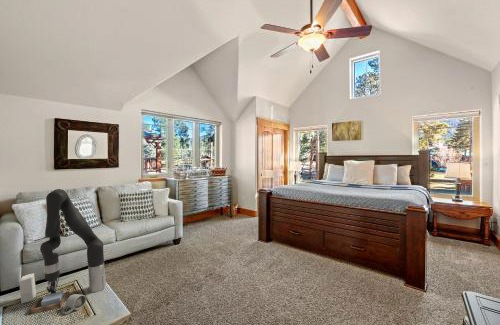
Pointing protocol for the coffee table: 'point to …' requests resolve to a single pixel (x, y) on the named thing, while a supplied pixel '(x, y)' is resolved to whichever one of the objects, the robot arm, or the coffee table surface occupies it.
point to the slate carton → (52, 298)
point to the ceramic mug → (74, 302)
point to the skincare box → (27, 288)
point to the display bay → (48, 307)
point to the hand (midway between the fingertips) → (53, 295)
